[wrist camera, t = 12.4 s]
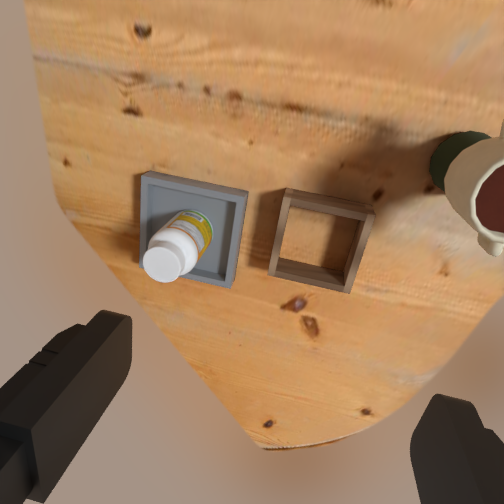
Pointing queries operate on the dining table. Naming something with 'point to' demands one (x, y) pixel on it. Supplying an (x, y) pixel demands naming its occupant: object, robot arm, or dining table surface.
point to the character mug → (474, 183)
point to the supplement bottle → (178, 246)
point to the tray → (206, 202)
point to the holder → (311, 272)
